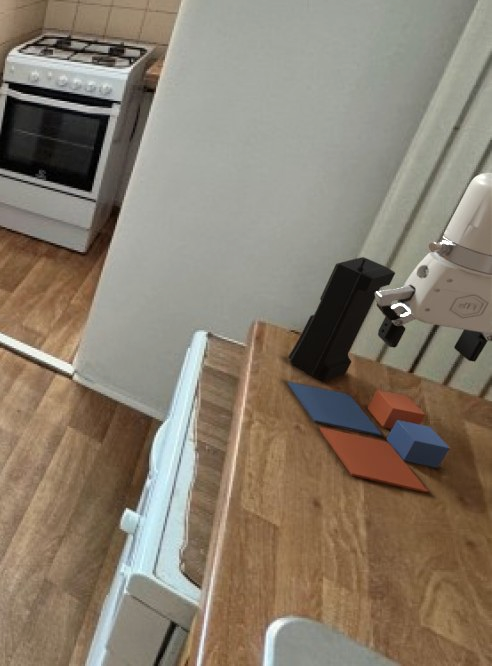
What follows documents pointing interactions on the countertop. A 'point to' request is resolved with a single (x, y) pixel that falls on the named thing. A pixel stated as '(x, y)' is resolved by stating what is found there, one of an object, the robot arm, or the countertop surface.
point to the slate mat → (333, 408)
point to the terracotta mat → (372, 459)
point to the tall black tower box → (339, 318)
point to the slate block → (417, 443)
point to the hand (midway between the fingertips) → (424, 348)
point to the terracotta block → (394, 409)
